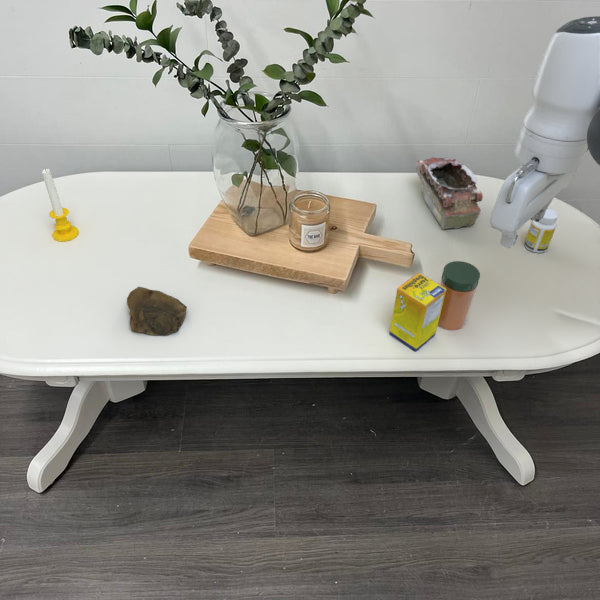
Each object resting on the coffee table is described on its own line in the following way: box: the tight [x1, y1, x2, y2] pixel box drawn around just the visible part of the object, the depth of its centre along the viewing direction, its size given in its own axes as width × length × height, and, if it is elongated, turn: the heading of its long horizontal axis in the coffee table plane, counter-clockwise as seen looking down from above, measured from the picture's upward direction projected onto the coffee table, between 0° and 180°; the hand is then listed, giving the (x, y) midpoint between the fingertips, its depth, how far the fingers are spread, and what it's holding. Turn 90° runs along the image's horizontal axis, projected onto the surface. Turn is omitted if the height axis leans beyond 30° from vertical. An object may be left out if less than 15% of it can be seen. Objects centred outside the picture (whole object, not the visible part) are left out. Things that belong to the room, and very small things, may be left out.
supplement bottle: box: [523, 207, 559, 254], centre depth 118 cm, size 5×5×8 cm
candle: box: [41, 168, 80, 243], centre depth 114 cm, size 5×5×16 cm
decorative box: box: [415, 156, 484, 230], centre depth 127 cm, size 13×20×10 cm, turn 5°
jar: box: [437, 277, 478, 331], centre depth 100 cm, size 6×6×10 cm
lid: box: [441, 260, 481, 291], centre depth 97 cm, size 6×6×2 cm
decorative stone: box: [126, 286, 188, 337], centre depth 101 cm, size 10×9×4 cm
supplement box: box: [389, 272, 446, 352], centre depth 97 cm, size 6×6×11 cm
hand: (521, 231), depth 87 cm, fingers open, 8 cm apart
